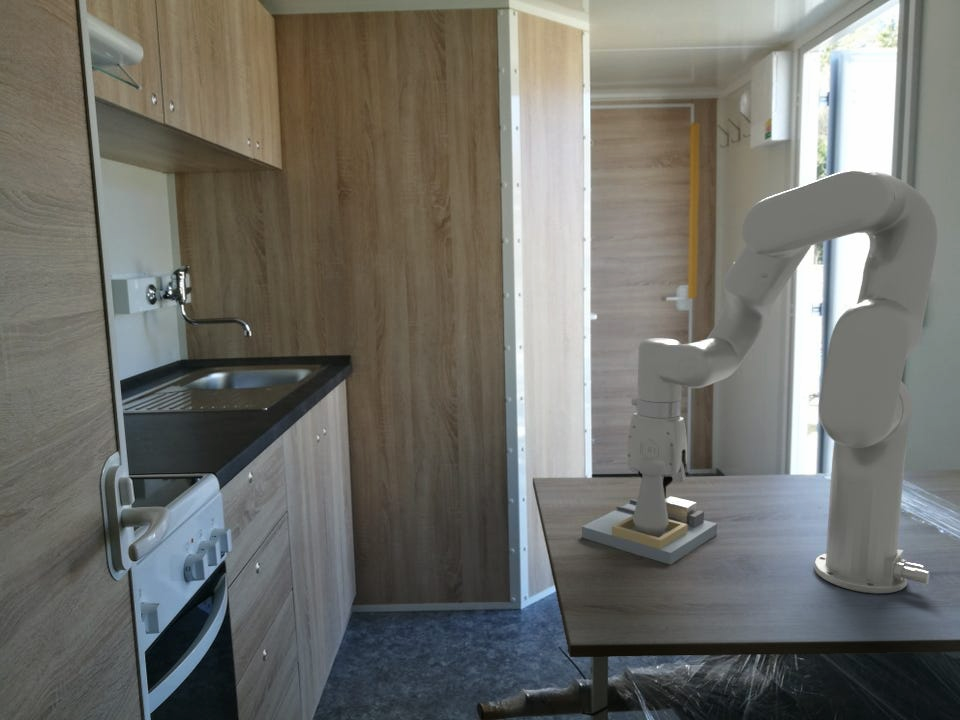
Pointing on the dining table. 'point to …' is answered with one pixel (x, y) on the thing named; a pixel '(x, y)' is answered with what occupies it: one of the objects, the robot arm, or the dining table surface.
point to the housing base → (666, 548)
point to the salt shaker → (651, 499)
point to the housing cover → (680, 509)
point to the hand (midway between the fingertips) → (655, 507)
